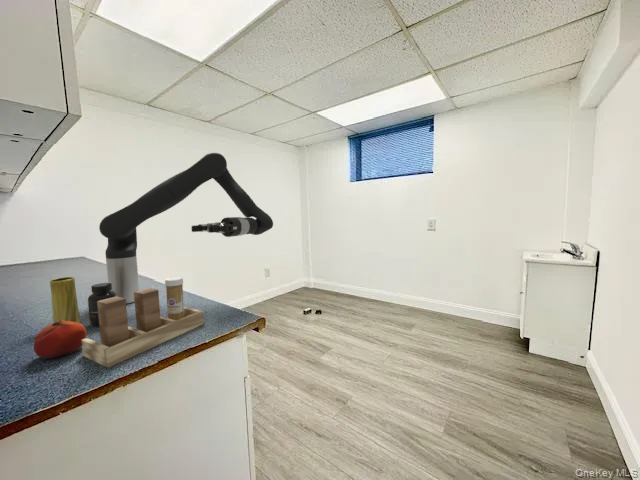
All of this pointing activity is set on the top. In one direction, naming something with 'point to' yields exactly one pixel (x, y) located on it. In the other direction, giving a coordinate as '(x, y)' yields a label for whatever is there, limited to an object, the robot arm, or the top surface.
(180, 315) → the spice jar
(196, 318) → the rail rack
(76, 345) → the tomato
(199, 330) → the top surface
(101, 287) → the supplement bottle
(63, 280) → the vase
